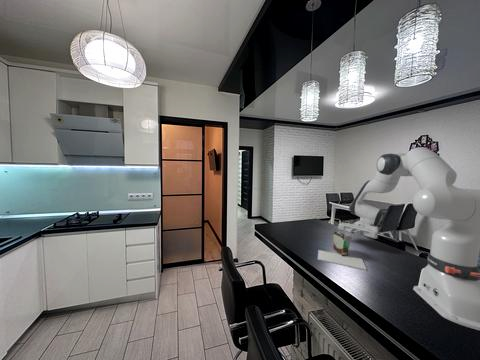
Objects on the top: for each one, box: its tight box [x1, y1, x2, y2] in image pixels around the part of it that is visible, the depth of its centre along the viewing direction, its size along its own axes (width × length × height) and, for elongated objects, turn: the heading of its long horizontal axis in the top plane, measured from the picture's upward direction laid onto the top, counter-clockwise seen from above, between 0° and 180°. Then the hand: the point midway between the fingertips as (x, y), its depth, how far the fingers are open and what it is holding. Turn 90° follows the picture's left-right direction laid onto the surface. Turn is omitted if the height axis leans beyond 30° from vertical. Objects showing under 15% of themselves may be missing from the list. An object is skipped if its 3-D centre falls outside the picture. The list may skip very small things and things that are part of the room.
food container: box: [332, 230, 353, 256], centre depth 101 cm, size 12×6×10 cm, turn 179°
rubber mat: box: [317, 249, 367, 271], centre depth 94 cm, size 12×20×1 cm, turn 66°
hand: (352, 232), depth 109 cm, fingers closed
